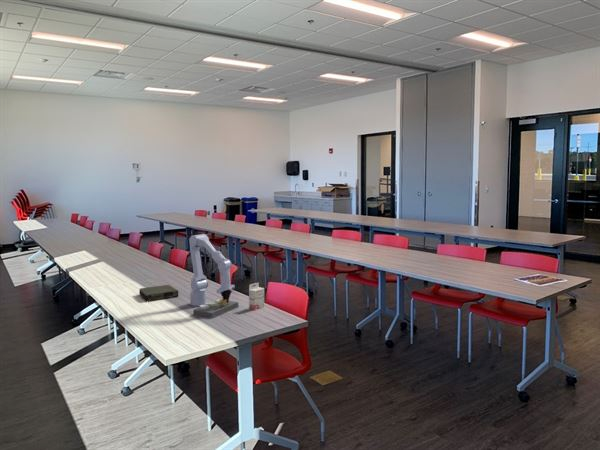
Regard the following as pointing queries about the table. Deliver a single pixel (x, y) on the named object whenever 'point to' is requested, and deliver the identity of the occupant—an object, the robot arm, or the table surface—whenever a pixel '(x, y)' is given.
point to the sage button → (212, 304)
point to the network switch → (158, 292)
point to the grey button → (204, 307)
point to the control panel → (215, 310)
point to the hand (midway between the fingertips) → (226, 302)
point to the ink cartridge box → (256, 296)
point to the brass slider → (223, 302)
